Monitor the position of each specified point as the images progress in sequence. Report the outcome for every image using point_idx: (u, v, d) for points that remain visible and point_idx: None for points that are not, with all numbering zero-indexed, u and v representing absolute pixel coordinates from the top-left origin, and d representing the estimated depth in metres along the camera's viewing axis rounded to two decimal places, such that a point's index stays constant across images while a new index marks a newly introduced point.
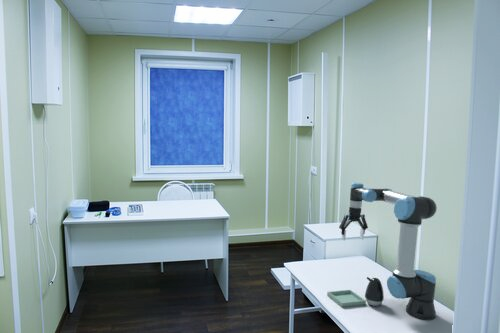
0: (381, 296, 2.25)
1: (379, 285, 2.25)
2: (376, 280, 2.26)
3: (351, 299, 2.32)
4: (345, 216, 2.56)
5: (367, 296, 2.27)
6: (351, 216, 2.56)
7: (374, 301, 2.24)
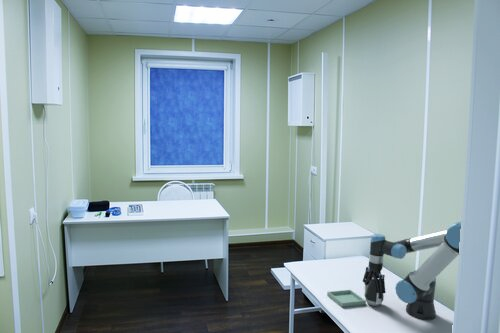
0: None
1: None
2: None
3: (351, 299, 2.32)
4: None
5: (367, 296, 2.27)
6: (370, 270, 2.30)
7: (374, 301, 2.24)
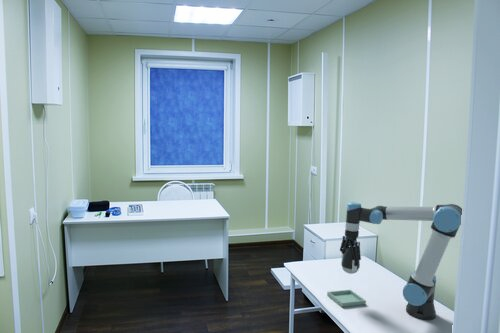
0: None
1: None
2: None
3: (351, 299, 2.32)
4: None
5: (343, 264, 2.29)
6: (346, 238, 2.31)
7: (350, 268, 2.26)
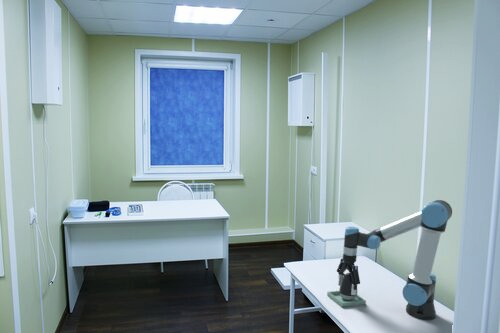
0: None
1: None
2: (350, 275, 2.30)
3: None
4: None
5: (341, 291, 2.30)
6: (344, 262, 2.33)
7: (348, 295, 2.28)
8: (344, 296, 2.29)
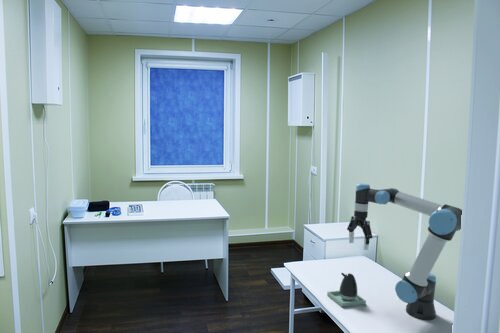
0: (354, 291, 2.28)
1: (353, 281, 2.28)
2: (350, 276, 2.29)
3: None
4: None
5: (341, 291, 2.30)
6: (355, 219, 2.36)
7: (348, 296, 2.28)
8: (344, 297, 2.29)
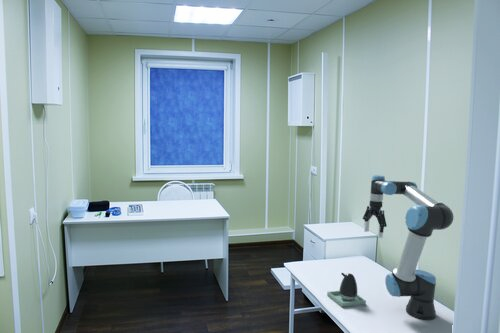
0: (354, 291, 2.28)
1: (353, 281, 2.28)
2: (350, 276, 2.29)
3: None
4: None
5: (341, 291, 2.30)
6: (370, 208, 2.49)
7: (348, 296, 2.28)
8: (344, 297, 2.29)
